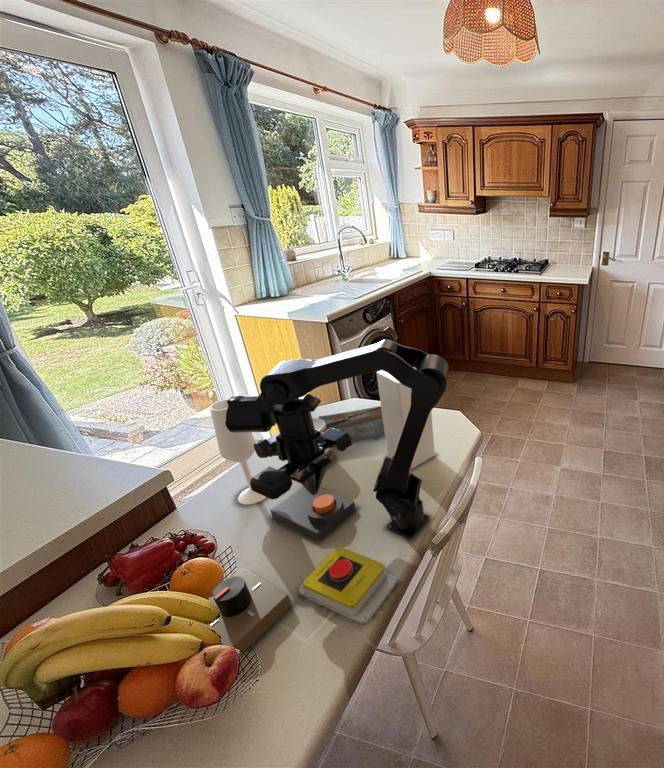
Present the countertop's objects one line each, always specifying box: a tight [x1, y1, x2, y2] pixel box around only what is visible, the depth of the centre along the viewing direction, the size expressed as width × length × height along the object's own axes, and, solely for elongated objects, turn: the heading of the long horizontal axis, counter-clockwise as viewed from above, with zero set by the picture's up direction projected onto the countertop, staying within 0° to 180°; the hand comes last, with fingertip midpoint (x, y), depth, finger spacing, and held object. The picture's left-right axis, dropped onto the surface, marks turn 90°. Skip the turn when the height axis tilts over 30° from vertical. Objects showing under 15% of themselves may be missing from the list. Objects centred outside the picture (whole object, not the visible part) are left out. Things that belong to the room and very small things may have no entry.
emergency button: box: [298, 546, 398, 624], centre depth 72 cm, size 9×4×15 cm
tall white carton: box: [376, 367, 436, 470], centre depth 102 cm, size 9×9×25 cm
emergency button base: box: [269, 485, 356, 542], centre depth 88 cm, size 14×10×4 cm
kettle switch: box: [313, 494, 335, 514], centre depth 85 cm, size 4×4×2 cm
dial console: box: [208, 567, 292, 655], centre depth 67 cm, size 12×10×3 cm
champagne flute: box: [209, 398, 267, 505], centre depth 88 cm, size 7×7×24 cm
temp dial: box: [212, 576, 251, 617], centre depth 66 cm, size 4×4×4 cm
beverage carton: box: [318, 405, 385, 443], centre depth 114 cm, size 8×19×7 cm, turn 111°
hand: (314, 493), depth 82 cm, fingers closed
